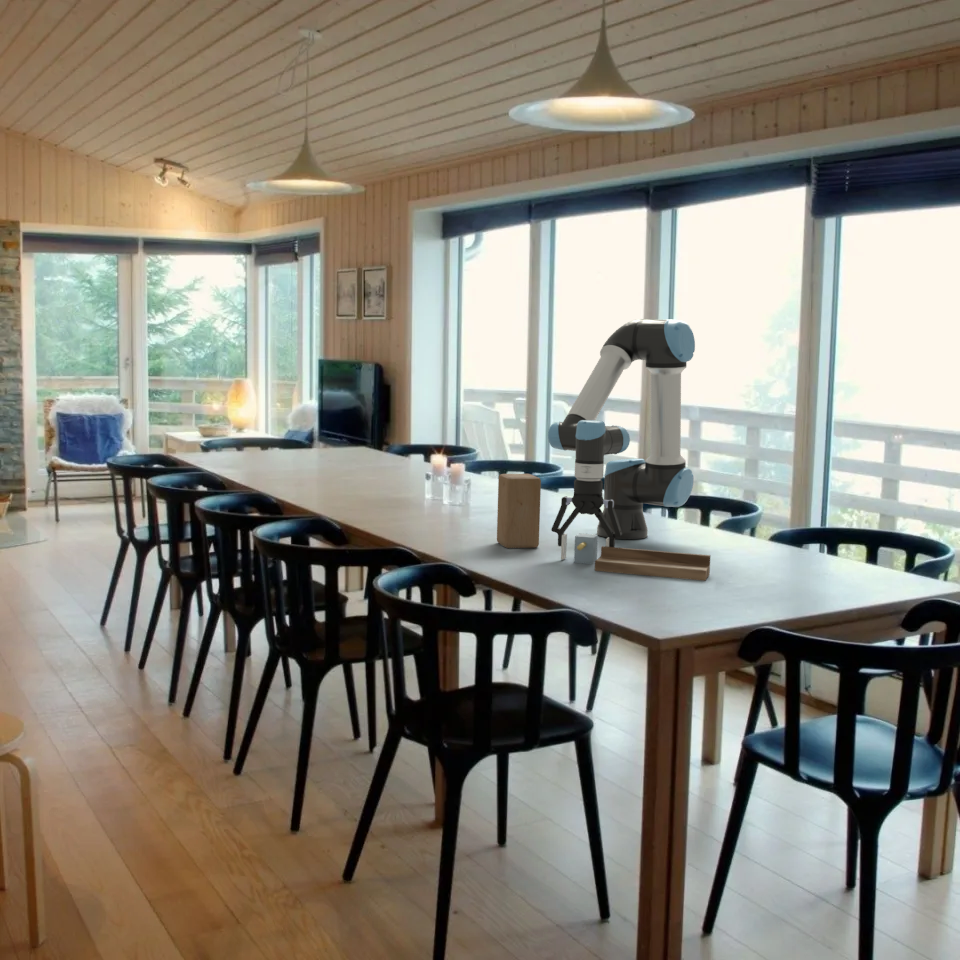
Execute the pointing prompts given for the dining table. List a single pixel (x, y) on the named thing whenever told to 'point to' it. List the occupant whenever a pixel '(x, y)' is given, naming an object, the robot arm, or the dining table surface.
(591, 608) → the dining table surface
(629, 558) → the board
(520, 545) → the wooden block
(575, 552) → the grey cube mallet
